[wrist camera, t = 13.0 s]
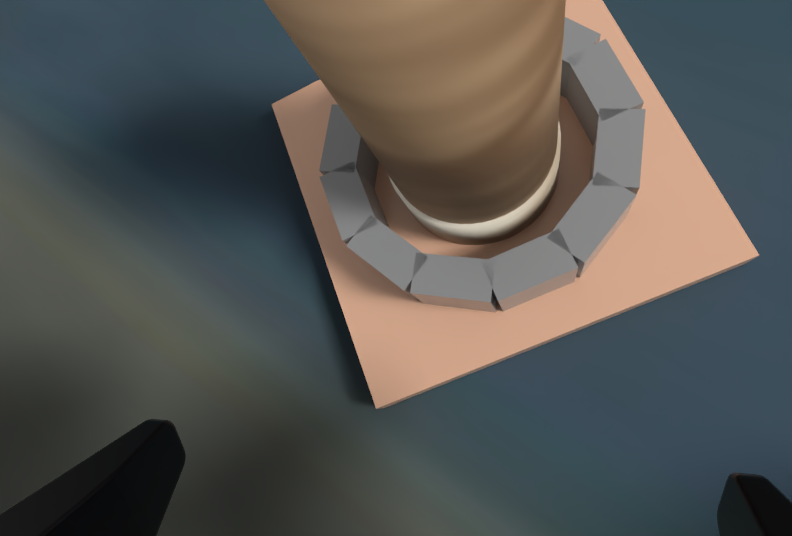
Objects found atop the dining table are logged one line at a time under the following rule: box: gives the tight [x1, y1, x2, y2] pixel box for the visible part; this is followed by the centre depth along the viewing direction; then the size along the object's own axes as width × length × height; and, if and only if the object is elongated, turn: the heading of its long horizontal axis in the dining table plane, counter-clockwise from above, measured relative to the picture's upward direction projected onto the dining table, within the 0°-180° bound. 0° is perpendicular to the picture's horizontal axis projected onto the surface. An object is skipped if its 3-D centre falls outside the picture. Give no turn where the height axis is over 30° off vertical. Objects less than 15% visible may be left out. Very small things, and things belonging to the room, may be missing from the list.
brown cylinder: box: [264, 0, 566, 245], centre depth 12 cm, size 5×5×13 cm
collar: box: [272, 0, 759, 409], centre depth 17 cm, size 12×12×3 cm
